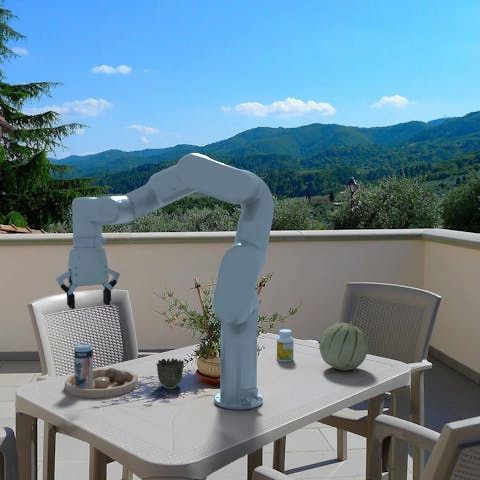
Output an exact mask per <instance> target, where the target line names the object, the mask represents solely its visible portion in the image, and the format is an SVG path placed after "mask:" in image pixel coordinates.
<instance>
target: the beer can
mask: <svg viewBox="0 0 480 480" xmlns="http://www.w3.org/2000/svg"><path fill="white" fill-rule="evenodd" d="M73 352H74V353H73V354H74V359H73V360H74V375H75V387H79V388H84V389H92V388H93V370H94V353H93V352H94V349H93V347H92V345H91V344H88V343H81V344H77V345H76V346H75V348H74V350H73Z"/></svg>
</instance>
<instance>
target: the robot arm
mask: <svg viewBox="0 0 480 480" xmlns="http://www.w3.org/2000/svg"><path fill="white" fill-rule="evenodd" d="M196 192H198V193H201V194H203V195H207V196H209V197H212V198H214V199H217V200H220V201H222V202H225V203H228V204H232V205H240V214H239V218H238V222H237V228H236V232H235V237H234V241H233V245H230V246H229V247H228V248H227V249H226V251H225V252H224V253H223V256H222V259H221V261H220V265H219V270H218V275H217V279H216V284H215V289H214V294H213V299H212V310H213V313H214V315H215V318H216V319H217V320H218V321H219V322H220V339H219V343H220V345H219V347H220V350H219V351H220V352H219V353H220V355H219V356H220V357H219V359H220V362H219V364H220V367H219V369H220V371H219V372H220V375H219V377H220V381H219V382H220V384H219V387H220V388H219V389H220V390H219V391H220V392H218V393H217V394H216V395H214V398H213V399H214V404H215V405H216V406H218V407H220V408H223V409H228V410H237V411H239V410H240V411H241V410H243V411H244V410H249V409H254V408H257V407H259V406H260V405H262V404H263V400H264V399H263V396H262V395H261V393H259V388H258V382H257V380H258V378H257V377H258V375H257V374H258V366H257V365H258V323H259V310H260V309H259V308H260V307H259V305H260V301H259V298H260V297H259V295H258V292H257V290H256V286H257V284H258V283H257V282H258V278H259V274H260V273H261V272H262V271H263V270H264V267H265V263H266V258H267V257H266V256H267V250H268V245H269V242H270V235H271V229H272V224H273V218H274V211H275V210H274V209H275V208H274V207H275V204H274V198H273V194H272V192H271V189H270V188H269V186H268V184H267V183H266V182H264V180H263V179H261V177H260V176H258V175H256V174H255V173H253V172H251V171H249V170H246V169H239V168H236V167H234V166H231V165H227V164H226V163H225V164H224V163H222V162H219V161H216V160H214V159H212V158H210V157H209V156H207V155H205V154H200V153H196V152H195V153H194V152H192V153H188V154H184V156H182V157H181V158H180V159H179V160H178V162H177V163H176V164H174V165H172V166H170V167H168V168H165V169H163V170H161V171H158V172H155V173H153V174H152V175H151V176H150V178H149V180H148V181H147V182H146V183H145V184H144V185H142V186H141V187H138V188H136V189H135V190H132V191H129V192H128V193H126V194H123V195H114V196H113V195H111V196H109V195H108V196H103V197H93V196H90V197H89V196H88V197H86V196H82V197H80V196H79V197H75V198H73V199H72V202H71V209H72V210H71V213H72V245H73V248H70V249H69V253H68V261H67V262H68V264H67V271H65V272H63V274H60V275H59V276H57V277H56V278H55V280H56V283H57V285H58V286H59V287H60V289H61V290H62V291H64V292H65V293H66V305H67V306H68V308H69V309H71V310H75V308H76V298H75V297H76V296H75V295H76V294H74V292H75V290H76V289H77V287H90V286H99V285H102V286H103V288H104V289H103V290H102V297H103V300H102V301H103V304H104V305H107V306H110V304H111V301H112V290H113V289H114V287H115V286H116V285H117V283H118V280H119V278H120V276H121V273H120V272H117V271H115V270H114V269H111V268H109V267H108V266H109V264H108V258H107V254H106V253H107V252H106V249H105V247H103V246H104V244H107V243H108V238H106V237H103V232H102V231H103V230H102V225H104V226H105V225H106V226H113V225H120V224H126V223H129V222H133V221H135V220H137V219H139V218H142V217H143V216H146V215H148V214H151V213H153V212H154V211H156V210H159V209H161V208H164V207H165V206H167V205H169V204H172V203H174V202H175V201H178V200H180V199H183V198H184V197H186V196H189V195H192V194H195V193H196ZM110 275H111V276H112V278H111V280H110V281H109V278H110V277H109V276H110ZM66 279H67V282H68V285H66V284H65V282H64V281H65V280H66Z"/></svg>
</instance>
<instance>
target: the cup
mask: <svg viewBox="0 0 480 480" xmlns="http://www.w3.org/2000/svg"><path fill="white" fill-rule="evenodd" d="M184 363H185V362H184V360H183V359H182V360H181V359H179V360H178V359H177V358H174V357H172V358H171V360H170V358H167V360H166V359H165V358H161V360H160V359H158V361H157V362H156V363H155V364H156V370H157V376H158V380H159V383H161V385H163V388H164V389H167V390H168V389H169V390H171V389H175V388H177V387H178V384H179V383H181V380H182V377H183V372H184Z"/></svg>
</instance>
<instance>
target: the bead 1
mask: <svg viewBox="0 0 480 480" xmlns="http://www.w3.org/2000/svg"><path fill="white" fill-rule="evenodd" d="M107 369H108V370H107V371H106V372H105V377H108V378H109V381H113V380H115V379H114V376H115V374H116V373H117V370H116V369H117V368H115V367H109V368H107Z"/></svg>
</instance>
